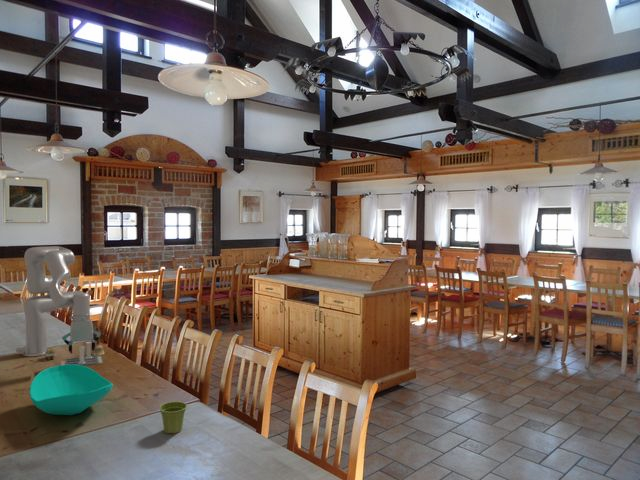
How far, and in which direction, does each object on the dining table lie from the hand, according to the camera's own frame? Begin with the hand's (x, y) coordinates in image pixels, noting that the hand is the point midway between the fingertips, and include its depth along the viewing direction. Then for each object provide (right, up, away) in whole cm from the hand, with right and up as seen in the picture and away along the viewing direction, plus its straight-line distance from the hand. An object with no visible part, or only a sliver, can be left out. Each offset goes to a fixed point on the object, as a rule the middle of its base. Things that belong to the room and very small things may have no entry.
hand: (82, 351), depth 231 cm
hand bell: (-1, -8, +19) cm, 21 cm away
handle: (-1, -6, +9) cm, 11 cm away
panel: (-2, -8, +4) cm, 9 cm away
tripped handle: (0, -7, 0) cm, 7 cm away
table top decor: (+23, -11, -51) cm, 57 cm away
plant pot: (+67, -13, -66) cm, 95 cm away
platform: (-22, -8, +10) cm, 25 cm away
